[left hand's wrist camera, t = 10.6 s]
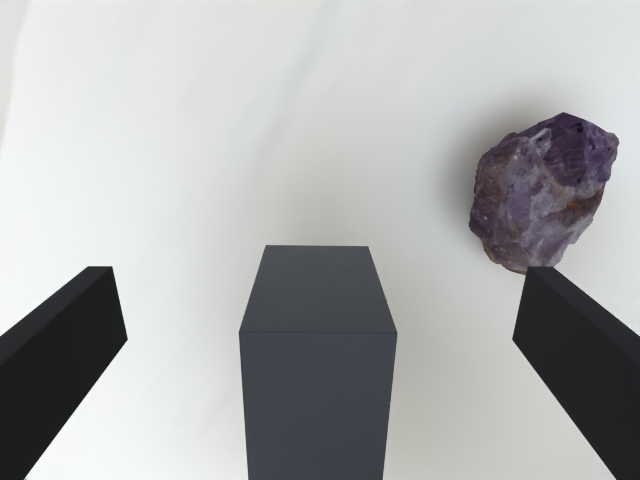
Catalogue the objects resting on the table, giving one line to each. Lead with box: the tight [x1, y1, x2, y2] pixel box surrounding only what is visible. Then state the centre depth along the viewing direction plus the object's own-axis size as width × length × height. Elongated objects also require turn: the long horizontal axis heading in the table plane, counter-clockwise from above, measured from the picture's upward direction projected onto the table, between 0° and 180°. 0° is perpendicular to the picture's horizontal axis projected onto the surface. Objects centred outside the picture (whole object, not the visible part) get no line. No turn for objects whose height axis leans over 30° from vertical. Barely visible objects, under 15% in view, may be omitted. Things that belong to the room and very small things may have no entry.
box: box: [239, 245, 397, 480], centre depth 24 cm, size 24×6×9 cm, turn 179°
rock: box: [469, 112, 619, 275], centre depth 30 cm, size 12×9×10 cm
